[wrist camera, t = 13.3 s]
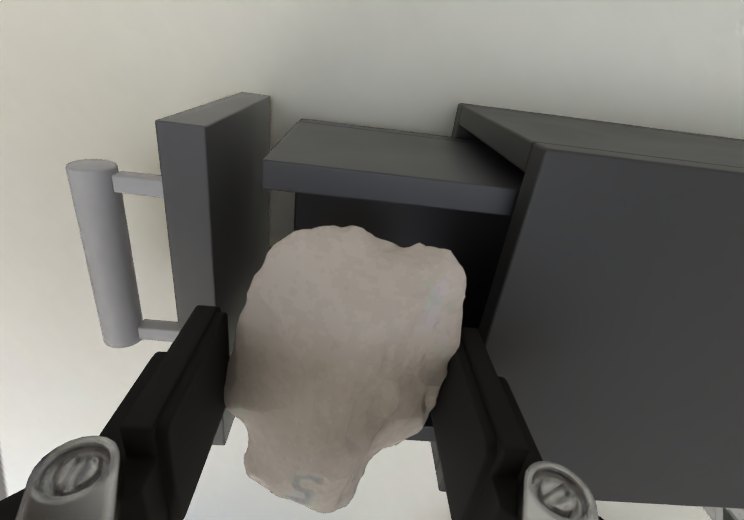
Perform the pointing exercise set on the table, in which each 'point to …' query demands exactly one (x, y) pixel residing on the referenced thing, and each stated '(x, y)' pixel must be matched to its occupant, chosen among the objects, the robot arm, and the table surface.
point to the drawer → (312, 208)
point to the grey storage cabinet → (622, 303)
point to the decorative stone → (339, 357)
